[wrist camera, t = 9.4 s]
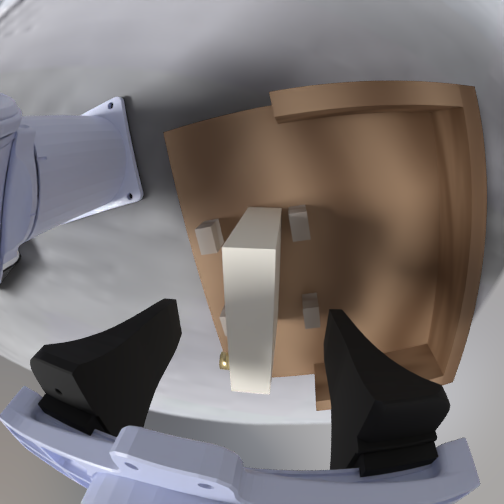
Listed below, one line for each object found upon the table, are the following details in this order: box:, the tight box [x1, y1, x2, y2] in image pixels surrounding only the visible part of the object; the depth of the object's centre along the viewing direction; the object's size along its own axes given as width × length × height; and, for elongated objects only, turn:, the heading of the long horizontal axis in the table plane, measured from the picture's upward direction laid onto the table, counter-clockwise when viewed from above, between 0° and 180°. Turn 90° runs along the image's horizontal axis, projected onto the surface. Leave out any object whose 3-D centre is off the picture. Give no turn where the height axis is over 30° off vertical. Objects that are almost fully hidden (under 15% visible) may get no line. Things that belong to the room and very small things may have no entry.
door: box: [219, 207, 282, 394], centre depth 15 cm, size 3×8×7 cm, turn 1°
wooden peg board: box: [163, 81, 487, 411], centre depth 16 cm, size 18×20×5 cm
